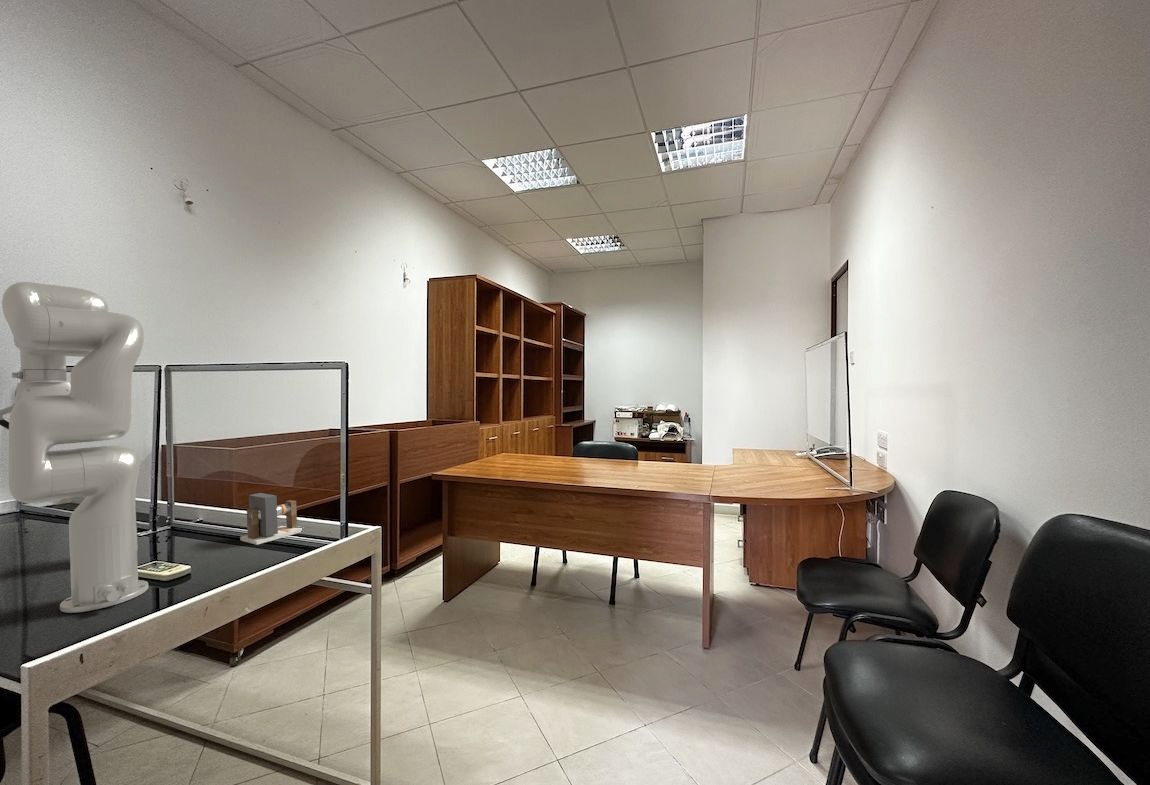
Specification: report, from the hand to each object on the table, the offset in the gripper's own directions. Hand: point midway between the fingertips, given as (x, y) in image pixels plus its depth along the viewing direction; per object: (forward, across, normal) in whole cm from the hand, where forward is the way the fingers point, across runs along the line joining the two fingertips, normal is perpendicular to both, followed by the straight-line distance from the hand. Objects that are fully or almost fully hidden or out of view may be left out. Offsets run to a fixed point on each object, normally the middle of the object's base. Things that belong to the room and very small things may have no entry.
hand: (47, 443), depth 114 cm
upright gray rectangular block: (+29, +34, -32) cm, 55 cm away
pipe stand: (+31, +37, -32) cm, 58 cm away
